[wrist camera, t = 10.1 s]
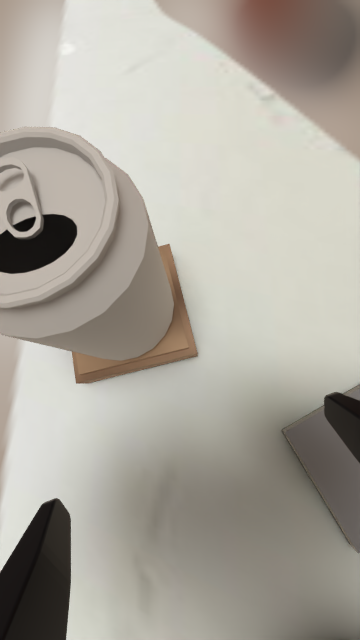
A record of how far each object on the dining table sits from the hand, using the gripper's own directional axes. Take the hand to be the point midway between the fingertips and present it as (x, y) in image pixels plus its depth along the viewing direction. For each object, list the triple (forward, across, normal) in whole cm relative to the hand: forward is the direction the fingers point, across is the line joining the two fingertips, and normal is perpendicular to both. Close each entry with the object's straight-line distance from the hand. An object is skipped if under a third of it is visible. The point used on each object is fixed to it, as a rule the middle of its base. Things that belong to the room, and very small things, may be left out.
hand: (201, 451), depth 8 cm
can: (+13, +2, 0) cm, 13 cm away
